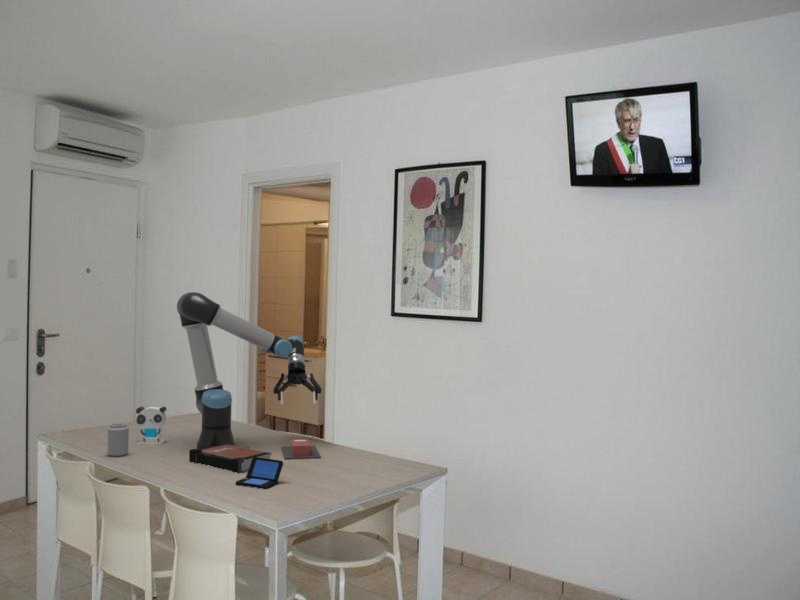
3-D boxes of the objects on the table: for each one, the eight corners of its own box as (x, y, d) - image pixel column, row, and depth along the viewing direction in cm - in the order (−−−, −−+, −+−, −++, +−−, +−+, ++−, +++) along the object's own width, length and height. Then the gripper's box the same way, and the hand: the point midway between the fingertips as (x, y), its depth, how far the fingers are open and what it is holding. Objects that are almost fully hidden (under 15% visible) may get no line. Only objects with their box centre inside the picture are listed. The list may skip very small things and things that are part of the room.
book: (272, 464, 254) (273, 451, 254) (238, 474, 240) (238, 460, 240) (224, 454, 269) (224, 442, 269) (189, 463, 254) (189, 449, 254)
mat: (320, 458, 264) (321, 456, 264) (284, 459, 261) (284, 457, 261) (315, 446, 283) (315, 445, 283) (281, 448, 280) (281, 446, 280)
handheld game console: (233, 485, 225) (234, 463, 225) (252, 477, 235) (253, 456, 235) (265, 490, 220) (266, 467, 220) (283, 482, 230) (284, 460, 230)
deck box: (292, 456, 264) (290, 449, 275) (310, 455, 265) (308, 448, 277) (292, 446, 264) (291, 439, 275) (310, 445, 265) (308, 439, 277)
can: (128, 452, 268) (129, 421, 268) (127, 456, 261) (128, 425, 260) (108, 453, 265) (108, 422, 265) (106, 457, 258) (107, 426, 258)
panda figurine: (132, 445, 280) (132, 409, 280) (141, 439, 291) (142, 404, 291) (161, 445, 280) (161, 409, 280) (169, 439, 292) (170, 405, 292)
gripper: (268, 360, 292) (268, 400, 277) (325, 361, 298) (328, 400, 283) (267, 371, 297) (267, 411, 283) (323, 371, 303) (327, 410, 288)
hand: (298, 405), depth 283 cm, fingers open, 13 cm apart
